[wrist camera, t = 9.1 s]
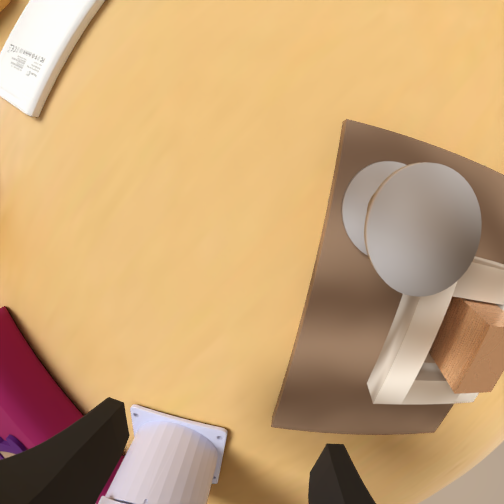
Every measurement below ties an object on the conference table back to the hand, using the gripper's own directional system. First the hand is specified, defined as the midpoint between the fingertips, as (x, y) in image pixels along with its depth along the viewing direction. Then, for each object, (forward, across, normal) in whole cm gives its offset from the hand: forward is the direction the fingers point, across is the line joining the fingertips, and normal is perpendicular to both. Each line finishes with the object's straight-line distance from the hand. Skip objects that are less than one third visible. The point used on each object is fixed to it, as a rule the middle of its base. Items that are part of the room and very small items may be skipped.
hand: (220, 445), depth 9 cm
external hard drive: (+10, +18, -18) cm, 27 cm away
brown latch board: (+9, -10, -2) cm, 14 cm away
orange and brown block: (+8, -12, -3) cm, 15 cm away
